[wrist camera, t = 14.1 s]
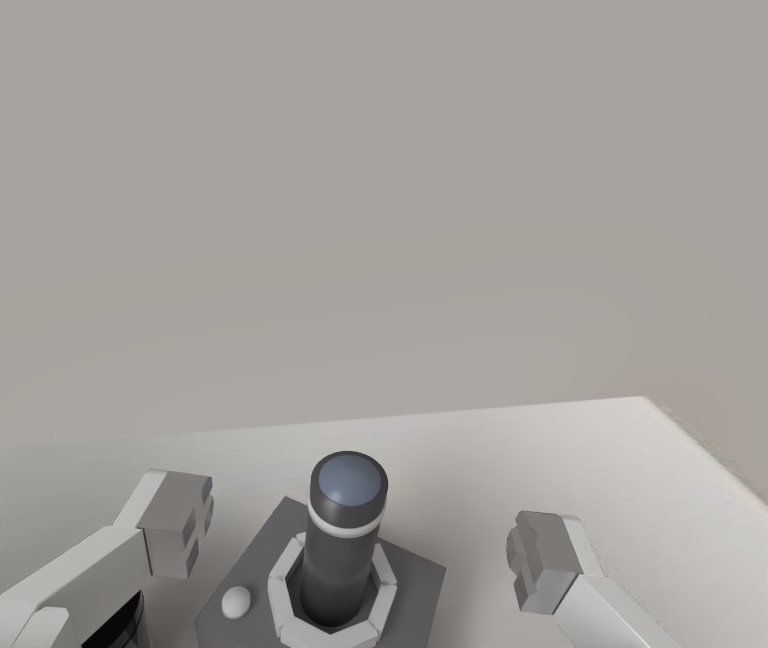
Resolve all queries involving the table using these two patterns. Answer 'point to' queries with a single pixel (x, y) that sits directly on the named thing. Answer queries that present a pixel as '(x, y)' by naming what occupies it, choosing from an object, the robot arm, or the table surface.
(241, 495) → the table surface
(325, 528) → the lens
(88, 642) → the supplement container
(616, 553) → the table surface
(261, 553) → the camera body
